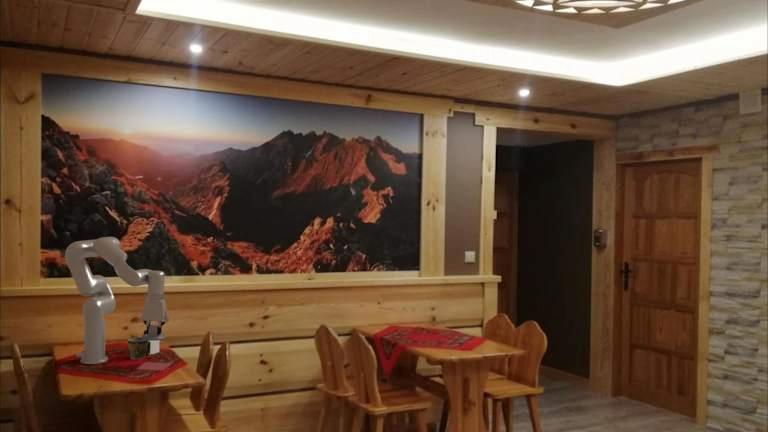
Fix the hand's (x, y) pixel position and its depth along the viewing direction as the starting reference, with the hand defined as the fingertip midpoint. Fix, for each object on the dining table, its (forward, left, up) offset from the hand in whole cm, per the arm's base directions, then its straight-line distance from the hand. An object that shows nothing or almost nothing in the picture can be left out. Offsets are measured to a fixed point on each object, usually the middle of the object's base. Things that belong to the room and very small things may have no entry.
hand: (154, 334), depth 326 cm
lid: (0, 0, -2) cm, 2 cm away
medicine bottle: (-11, +27, -16) cm, 33 cm away
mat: (+1, 0, -16) cm, 16 cm away
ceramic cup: (-12, +13, -16) cm, 24 cm away
